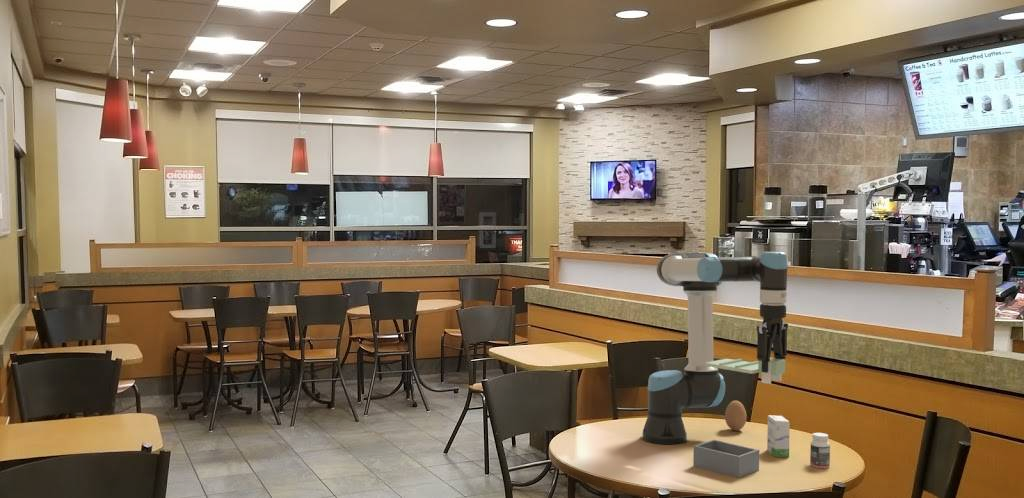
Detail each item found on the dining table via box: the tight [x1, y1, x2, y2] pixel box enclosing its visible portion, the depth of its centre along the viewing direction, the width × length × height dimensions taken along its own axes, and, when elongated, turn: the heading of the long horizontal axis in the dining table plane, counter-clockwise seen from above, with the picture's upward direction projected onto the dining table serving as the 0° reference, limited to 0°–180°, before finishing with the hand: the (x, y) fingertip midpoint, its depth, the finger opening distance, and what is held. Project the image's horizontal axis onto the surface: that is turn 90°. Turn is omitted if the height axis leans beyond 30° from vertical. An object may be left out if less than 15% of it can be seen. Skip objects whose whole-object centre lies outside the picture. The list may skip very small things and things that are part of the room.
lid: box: [705, 357, 787, 376], centre depth 258 cm, size 23×12×4 cm, turn 42°
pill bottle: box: [809, 432, 831, 469], centre depth 264 cm, size 6×6×10 cm
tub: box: [692, 439, 760, 479], centre depth 259 cm, size 16×11×7 cm
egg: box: [724, 400, 747, 432], centre depth 308 cm, size 8×8×11 cm
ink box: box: [766, 414, 791, 458], centre depth 278 cm, size 8×5×12 cm, turn 0°
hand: (771, 381), depth 252 cm, fingers closed on lid, 5 cm apart
